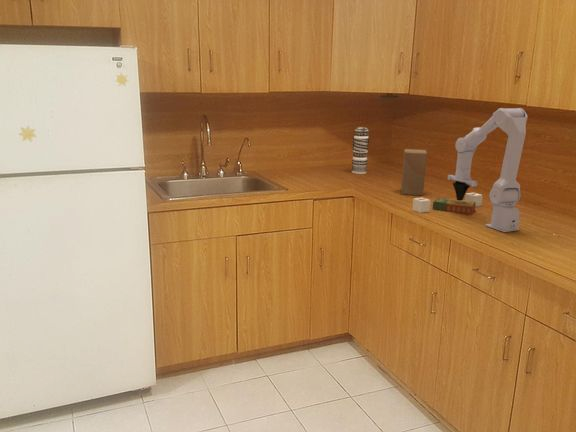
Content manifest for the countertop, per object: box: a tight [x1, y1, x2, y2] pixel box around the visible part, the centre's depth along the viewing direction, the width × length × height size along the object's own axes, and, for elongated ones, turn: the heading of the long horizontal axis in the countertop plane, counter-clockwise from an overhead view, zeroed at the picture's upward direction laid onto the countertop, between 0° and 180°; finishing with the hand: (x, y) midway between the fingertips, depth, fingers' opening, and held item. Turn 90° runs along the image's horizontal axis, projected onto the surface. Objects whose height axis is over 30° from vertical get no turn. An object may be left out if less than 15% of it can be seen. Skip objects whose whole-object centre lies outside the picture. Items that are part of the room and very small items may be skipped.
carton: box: [432, 197, 476, 216], centre depth 226 cm, size 8×16×4 cm, turn 63°
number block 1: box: [412, 197, 432, 214], centre depth 223 cm, size 5×5×5 cm
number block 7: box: [464, 192, 484, 208], centre depth 235 cm, size 5×5×5 cm
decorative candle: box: [351, 126, 370, 175], centre depth 299 cm, size 9×9×25 cm
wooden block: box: [400, 148, 428, 196], centre depth 253 cm, size 10×10×20 cm
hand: (459, 200), depth 223 cm, fingers closed
